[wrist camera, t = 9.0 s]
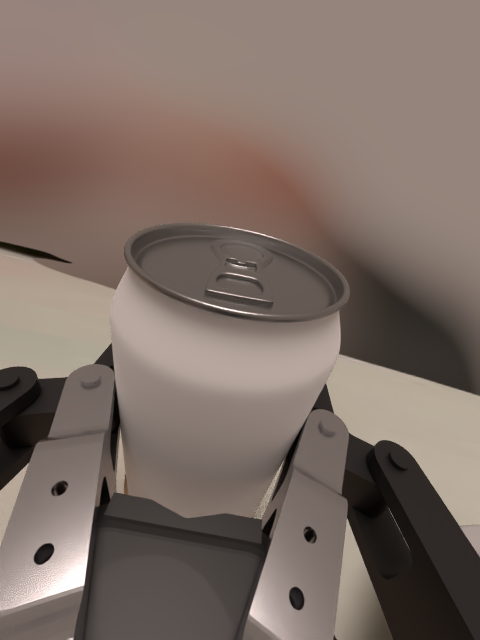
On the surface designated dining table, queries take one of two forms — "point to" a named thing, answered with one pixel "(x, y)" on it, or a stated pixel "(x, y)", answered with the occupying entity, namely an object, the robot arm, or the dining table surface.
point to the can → (218, 361)
